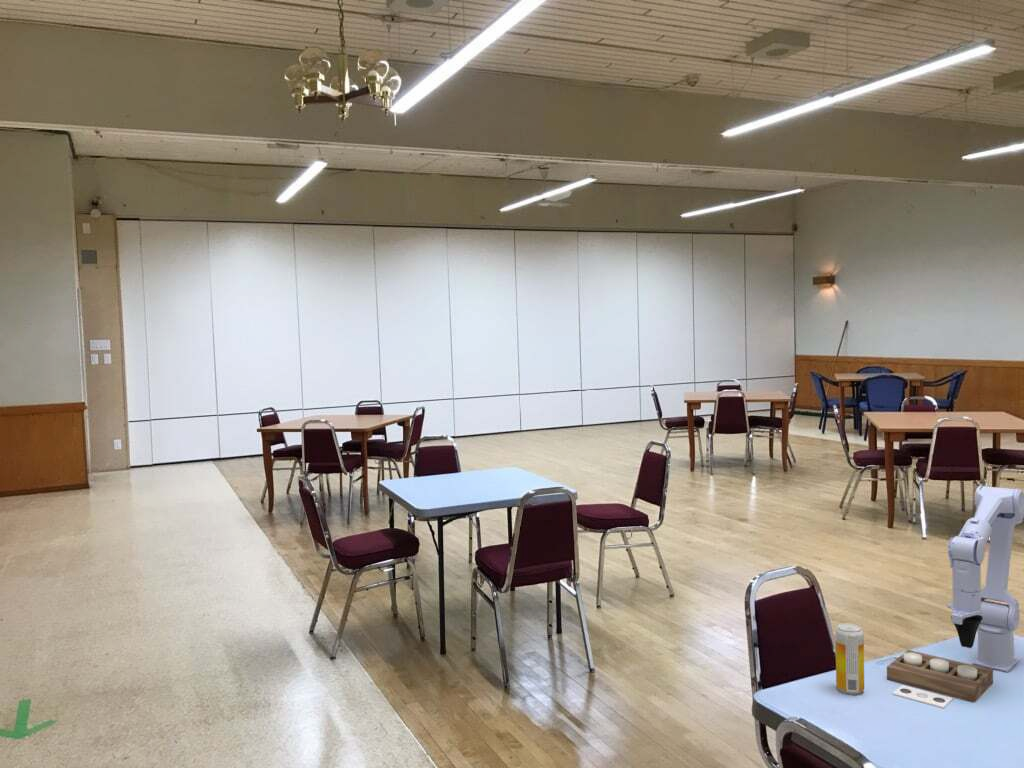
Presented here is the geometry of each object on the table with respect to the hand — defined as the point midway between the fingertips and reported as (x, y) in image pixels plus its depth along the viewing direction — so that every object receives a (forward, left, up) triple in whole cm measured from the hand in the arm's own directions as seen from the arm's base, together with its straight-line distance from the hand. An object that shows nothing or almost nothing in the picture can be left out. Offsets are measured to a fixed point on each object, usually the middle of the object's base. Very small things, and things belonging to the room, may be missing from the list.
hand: (967, 646), depth 187 cm
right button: (0, 0, -8) cm, 8 cm away
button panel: (0, -6, -10) cm, 12 cm away
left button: (0, -12, -8) cm, 14 cm away
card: (+11, -6, -10) cm, 16 cm away
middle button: (0, -6, -8) cm, 10 cm away
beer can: (+18, -20, -10) cm, 29 cm away
